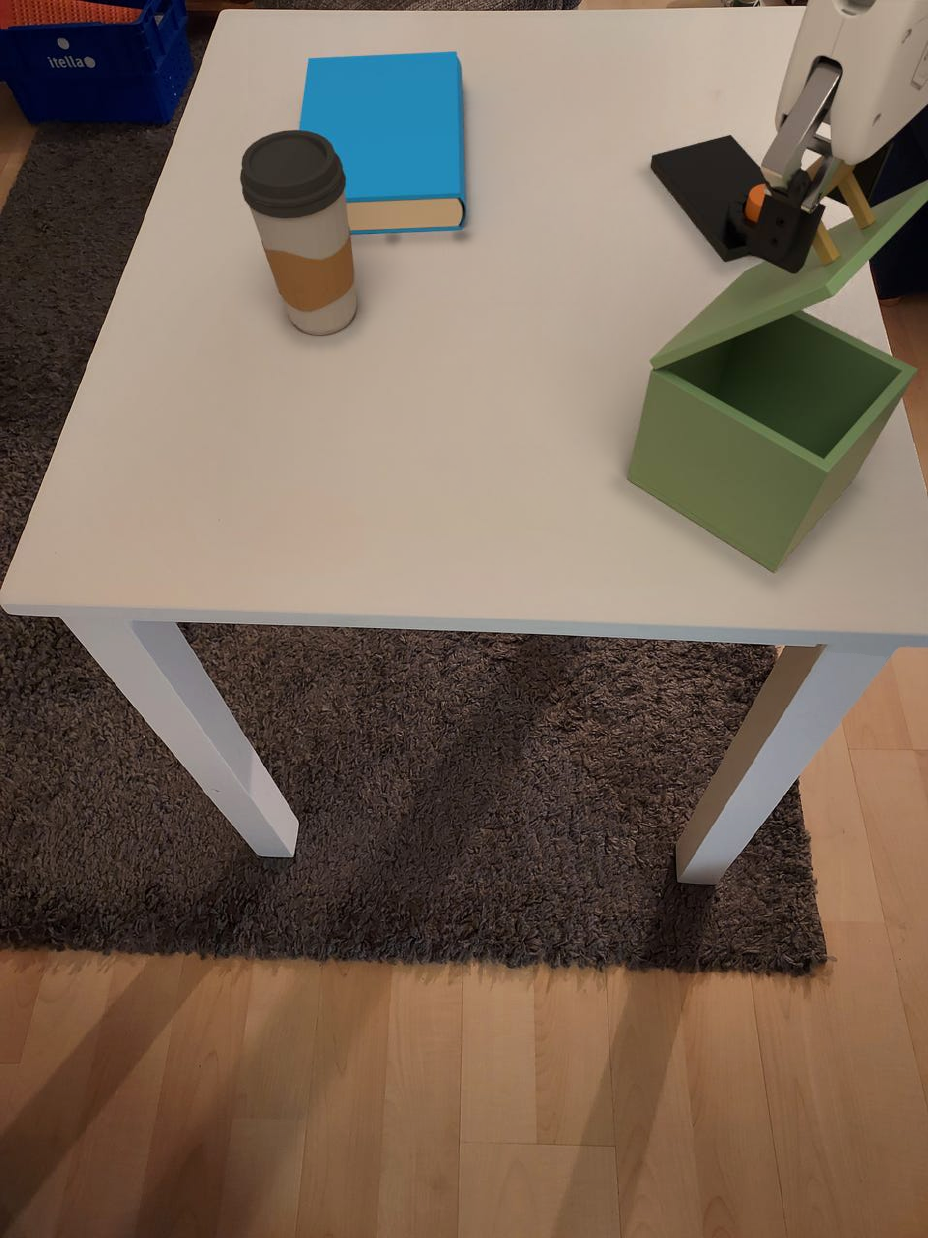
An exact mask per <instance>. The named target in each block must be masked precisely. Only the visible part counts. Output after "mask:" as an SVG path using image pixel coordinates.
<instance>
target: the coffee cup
mask: <svg viewBox="0 0 928 1238" xmlns="http://www.w3.org/2000/svg"><path fill="white" fill-rule="evenodd" d="M239 181H240V184H241V193H242V196H243V200H244V202H245V203H246V204H247V205H248V207H249V209H250V212H251V216H252V218H253V220H254V224H255V226H256V228H257V229H256V230H257V231H258V234H259V237H260V243H261V245H262V249H263V251H264V254H265V257H266V259H267V263H268V264H269V269H270V270H271V274H272V277H273V279H274V282H275V285H276V288H277V291H278V293H279V294H280V296H281V298H282V301H283V305H284V307H285V311H286V313H287V315H288V318H289V320H290V321H291V322H292V324H293V325H295V326H296V328H297V329H299V330H301V331H302V332H304V333H305V334H309V335H314V336H326V335H330V334H335V333H338V332H339V331H341V330H343V329H345V328H346V327H347V326H349V323H351V322H352V320H353V318H354V315H355V313H356V311H357V295H356V293H357V292H356V284H355V268H354V257H353V247H352V238H351V237H352V235H351V234H350V228H349V225H348V216H347V206H346V196H345V186H346V176H345V174H344V171H343V166H342V163H341V160H340V158H339V156H338V155H337V154H336V153H335V151H334V149H333V146H332V144H331V143H330V142H329V141H328V140H327V139H326V138H325V137H323V136H321V135H319V134H317V133H313V132H310V131H303V130H299V129H290V130H289V129H287V130H281V131H277V132H276V131H275V132H272V133H270V134H267V135H265V136H262V137H260V138H259V139H257V140H256V141H254V142H253V143H251V144H250V146H248V147H247V149H245V151H244V153H243V155H242V157H241V169H240V176H239Z"/></svg>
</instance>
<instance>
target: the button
mask: <svg viewBox="0 0 928 1238" xmlns="http://www.w3.org/2000/svg"><path fill="white" fill-rule="evenodd" d="M764 186H765V184H761V185H757V186H755V187H754V188H752V190H751V191H750V193H749V197H748V200H747V204H746V207H745V214H746V216H747V218H748V219H750V220H752V221H755V222H757V219H758V216H759V213H760V209H761V206H762V203H763V199H764V196H765V193H764V192H763V191H764Z"/></svg>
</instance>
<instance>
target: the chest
mask: <svg viewBox="0 0 928 1238" xmlns="http://www.w3.org/2000/svg"><path fill="white" fill-rule="evenodd" d="M918 371H919V369H918V368H917V367H915V366H913V365H910V364H909V363H908V362H907V363H906V362H904V361H902V360H901V359H899V358H897V357H895V356H894V355H893V356H892V355H891V354H889V353H887V352H885V351H884V350H883V351H882V350H881V349H879V348H877V347H875V346H873V345H871V344H869V343H867V342H865V341H863V340H861V339H859V338H857V337H855V336H853V335H851V334H850V333H848V332H845V331H843V330H842V329H840V328H838V327H836V326H833V325H831V324H829V323H828V322H825V321H823V320H821V319H819V318H817V317H815V316H814V315H812V314H809V313H808V312H805V311H804V310H803V309H802V310H799V311H797V312H794V313H792V314H790V315H787V316H785V317H782V318H780V319H777V320H775V321H773V322H770V323H768V324H765V325H763V326H760V327H758V328H756V329H753V330H751V331H748V332H746V333H743V334H741V335H739V336H736V337H734V338H731V339H729V340H726V341H724V342H722V343H719V344H717V345H714V346H712V347H709V348H707V349H705V350H702V351H700V352H697V353H695V354H692V355H690V356H688V357H685V358H683V359H680V360H678V361H675V362H673V363H671V364H668V365H666V366H663V367H661V368H658V369H656V370H655V369H654V368H653V367H652V369H651V370H650V372H649V377H648V382H647V387H646V391H645V396H644V401H643V405H642V410H641V414H640V420H639V423H638V424H639V425H638V428H637V434H636V438H635V444H634V447H633V452H632V456H631V461H630V467H629V471H628V474H627V475H628V476H627V480H628V481H629V482H631V483H632V484H634V485H635V486H637V487H639V488H640V489H642V490H643V491H645V492H647V493H648V494H650V495H651V496H653V497H654V498H656V499H657V500H659V501H661V502H662V503H664V504H665V505H666V506H668V507H670V508H672V509H673V510H675V511H676V512H678V513H679V514H681V515H683V516H684V517H686V518H687V519H689V520H691V521H692V522H693V523H695V524H696V525H698V526H700V527H701V528H703V529H704V530H706V531H708V532H710V533H711V534H713V535H714V536H715V537H717V538H719V539H721V540H722V541H723V542H725V543H727V544H729V545H730V546H731V547H733V548H734V549H736V550H738V551H739V552H741V553H743V554H744V555H745V556H747V557H749V558H750V559H752V560H754V561H755V562H756V563H758V564H760V565H762V566H763V567H764V568H766V569H767V570H769V571H771V572H772V573H776V572H777V571H778V569H779V568H780V567H781V566H782V565H783V564H784V563H785V561H786V560H787V559H788V558H789V556H791V554H792V553H793V552H794V551H795V549H796V548H797V547H798V546H799V544H800V543H801V542H802V541H803V540H804V539H805V538H806V536H807V535H808V534H809V533H810V532H811V531H812V529H813V528H814V527H815V526H816V525H817V524H818V522H819V521H820V520H821V519H822V518H823V516H825V514H826V513H827V512H828V511H829V509H830V508H831V507H832V506H833V504H835V503H836V501H837V500H838V499H839V498H840V496H841V495H842V494H843V493H844V492H845V490H846V489H847V488H848V487H849V486H850V485H851V484H852V482H853V481H854V480H855V478H856V477H857V474H858V473H859V471H860V469H861V468H862V466H863V464H864V463H865V461H866V459H867V458H868V456H869V454H870V453H871V451H872V449H873V448H874V446H875V444H876V443H877V441H878V439H879V437H880V435H881V433H882V432H883V430H884V428H885V427H886V426H887V423H888V422H889V420H890V418H891V417H892V415H893V414H894V412H895V410H896V408H897V406H898V405H899V403H900V402H901V400H902V398H903V396H904V394H905V393H906V392H907V390H908V388H909V386H910V384H911V383H912V382H913V379H914V378H915V376H916V374H917V372H918Z"/></svg>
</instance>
